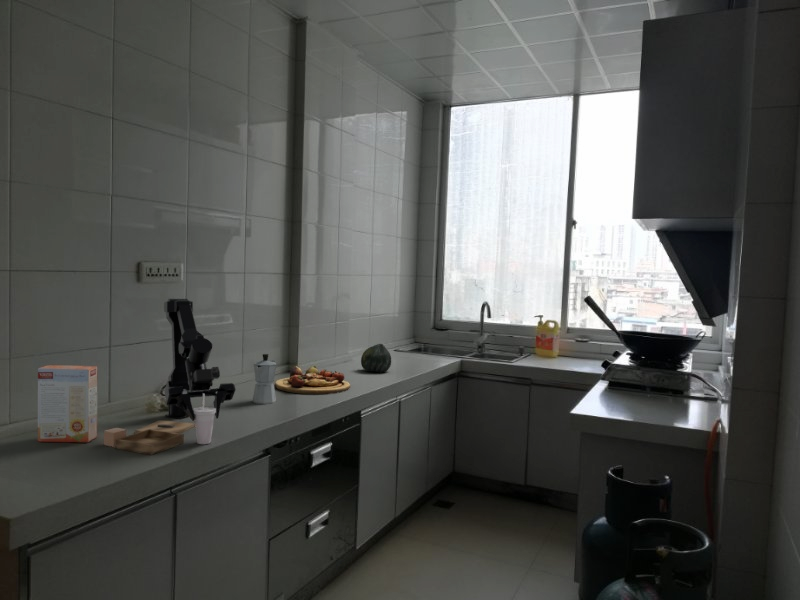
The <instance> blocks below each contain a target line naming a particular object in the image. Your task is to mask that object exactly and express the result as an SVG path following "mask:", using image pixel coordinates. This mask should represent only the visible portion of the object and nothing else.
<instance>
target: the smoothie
mask: <svg viewBox="0 0 800 600" xmlns="http://www.w3.org/2000/svg"><path fill="white" fill-rule="evenodd" d="M205 398H206V397H205V393H203V397H202V406H197V407H194V408H193V412H194V417H195V420H194V424H195V426H194V427H195V435H196V444H198V445H207V444H211V443H212V435H213V428H214V422H215V417H216V416H215V413H216V408H214V406H207V405H206V403H205V402H206V399H205ZM205 405H206V406H205Z"/></svg>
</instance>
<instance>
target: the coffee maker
mask: <svg viewBox="0 0 800 600" xmlns="http://www.w3.org/2000/svg"><path fill="white" fill-rule="evenodd" d="M268 359H269V353H263V354H262V360H259V361H256V362H254V363H253V367H254V368H253V370H254V377H255V382H256V383H255V384H254V385H255V386H254V390H253V396H252V402H253V404H256V405H258V404H259V405H270V403H272V404H275V403H276V402H277V399H276V391H275V383H273V382H274V381H275V375H276V369H277V362H275V360H268Z"/></svg>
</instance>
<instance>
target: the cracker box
mask: <svg viewBox="0 0 800 600" xmlns="http://www.w3.org/2000/svg"><path fill="white" fill-rule="evenodd" d="M97 437H98V366H97V365H95V366H93V365H65V364H64V365H62V364H61V365H58V364H57V365H53V364H52V365H50V364H48V365H45V366H41V367H39V368H37V442H41V443H42V442H45V443H48V442H49V443H50V442H51V443H55V442H56V443H89V442H90V441H93V440H94V439H96V438H97Z"/></svg>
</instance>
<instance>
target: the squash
mask: <svg viewBox="0 0 800 600" xmlns="http://www.w3.org/2000/svg"><path fill="white" fill-rule="evenodd" d="M360 358H361V359H360V363H361V364H360V365H361V367H362V369H363V370H365V371H367V372H378V373H380V372H382V373H385V372H384V371H386V372H387V371H388V370H389V369H390V368H391V366H392V356H391V353H390V351H389V350H388V349H387V348H386V346H385V345H384V344H383V343H377V344H374V345H372V346H370V347H368V348H366V349H364V352H362V355H361V357H360Z"/></svg>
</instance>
